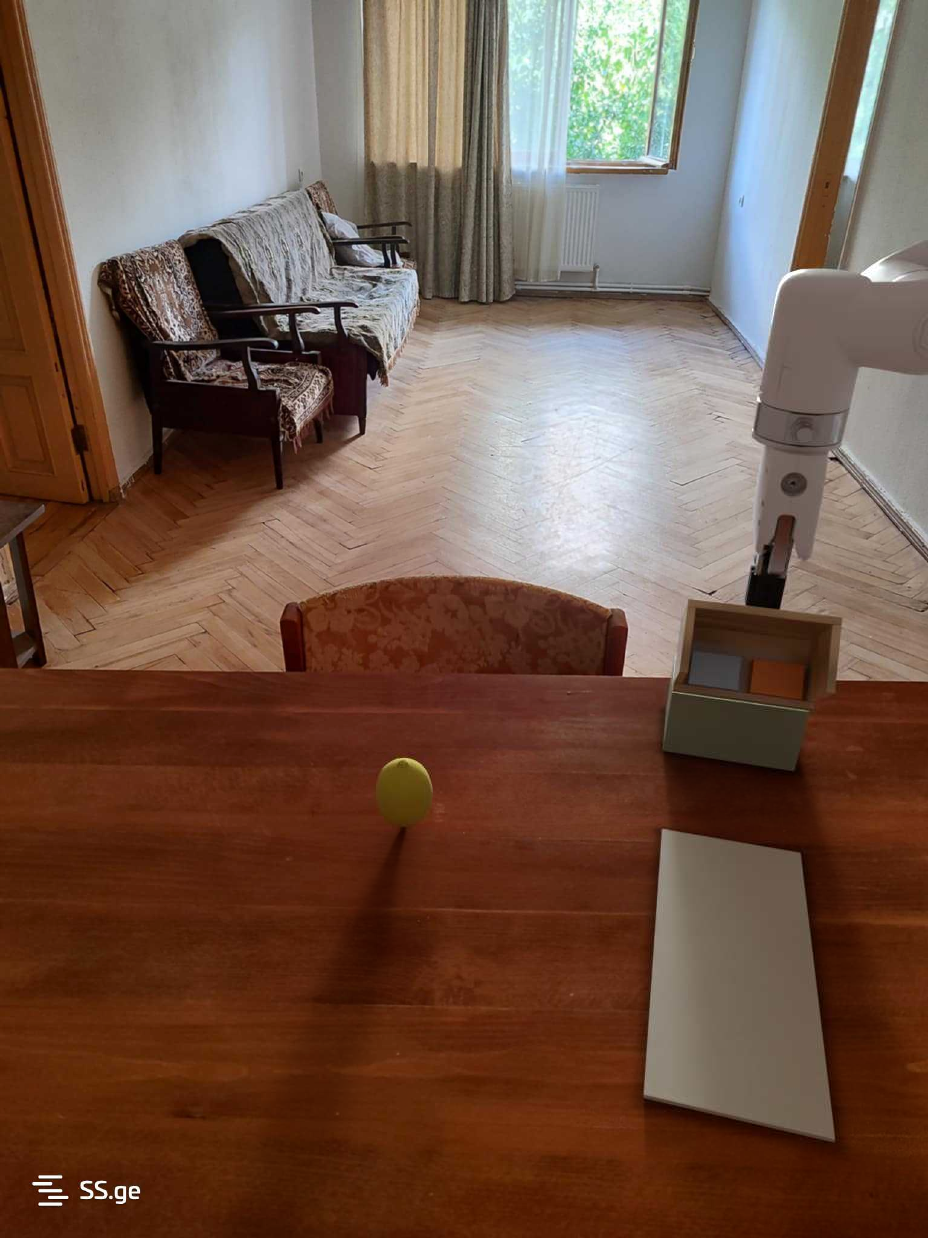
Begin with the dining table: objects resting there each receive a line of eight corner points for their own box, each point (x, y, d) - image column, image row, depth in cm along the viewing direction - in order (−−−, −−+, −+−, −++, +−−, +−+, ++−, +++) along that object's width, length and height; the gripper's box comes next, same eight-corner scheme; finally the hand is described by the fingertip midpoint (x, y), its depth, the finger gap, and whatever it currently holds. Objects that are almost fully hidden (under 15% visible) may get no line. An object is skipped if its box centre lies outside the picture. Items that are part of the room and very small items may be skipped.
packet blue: (690, 652, 94) (692, 650, 92) (739, 659, 93) (742, 656, 91) (686, 685, 93) (688, 683, 91) (735, 692, 92) (738, 690, 90)
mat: (661, 831, 87) (662, 828, 87) (799, 855, 84) (800, 852, 84) (643, 1098, 63) (644, 1095, 63) (834, 1143, 61) (835, 1139, 61)
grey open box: (665, 710, 105) (674, 653, 101) (788, 728, 102) (802, 671, 98) (662, 751, 98) (671, 692, 94) (794, 771, 95) (809, 712, 91)
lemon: (426, 847, 85) (426, 783, 81) (370, 840, 86) (367, 776, 82) (437, 808, 90) (437, 746, 86) (384, 802, 90) (381, 740, 86)
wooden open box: (681, 618, 95) (688, 598, 85) (817, 635, 93) (842, 617, 82) (672, 691, 94) (678, 680, 84) (809, 711, 91) (834, 702, 81)
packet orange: (751, 660, 93) (754, 658, 91) (801, 667, 92) (805, 665, 90) (747, 693, 92) (750, 692, 90) (797, 701, 91) (801, 699, 89)
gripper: (855, 454, 69) (808, 652, 79) (835, 402, 82) (796, 578, 91) (756, 446, 71) (721, 640, 80) (751, 396, 84) (721, 569, 93)
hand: (761, 607), depth 86 cm, fingers closed
